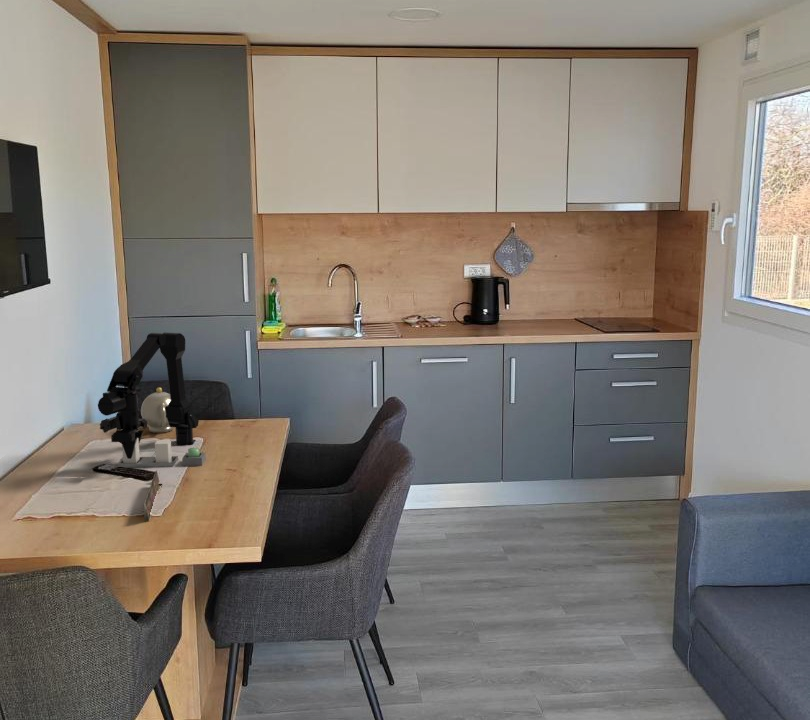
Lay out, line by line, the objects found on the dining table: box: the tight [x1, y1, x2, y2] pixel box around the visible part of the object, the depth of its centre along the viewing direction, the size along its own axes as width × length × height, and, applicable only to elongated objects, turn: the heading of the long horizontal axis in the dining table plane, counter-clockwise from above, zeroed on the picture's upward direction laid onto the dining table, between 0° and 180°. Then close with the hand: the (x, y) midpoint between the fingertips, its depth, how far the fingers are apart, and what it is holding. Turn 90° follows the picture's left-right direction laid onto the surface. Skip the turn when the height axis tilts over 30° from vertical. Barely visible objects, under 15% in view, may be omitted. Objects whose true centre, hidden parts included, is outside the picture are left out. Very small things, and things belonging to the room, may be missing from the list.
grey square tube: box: [181, 452, 207, 467], centre depth 253 cm, size 6×6×4 cm
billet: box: [121, 438, 141, 463], centre depth 252 cm, size 4×4×7 cm
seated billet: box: [154, 439, 173, 463], centre depth 252 cm, size 4×4×7 cm
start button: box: [187, 447, 200, 457], centre depth 253 cm, size 3×3×3 cm
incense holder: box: [143, 470, 163, 523], centre depth 221 cm, size 30×1×5 cm, turn 11°
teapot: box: [140, 387, 175, 434], centre depth 294 cm, size 18×14×16 cm
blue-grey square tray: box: [119, 449, 155, 461], centre depth 262 cm, size 10×10×1 cm
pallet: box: [116, 455, 179, 469], centre depth 253 cm, size 8×17×2 cm, turn 93°
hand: (131, 456), depth 252 cm, fingers closed on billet, 4 cm apart
